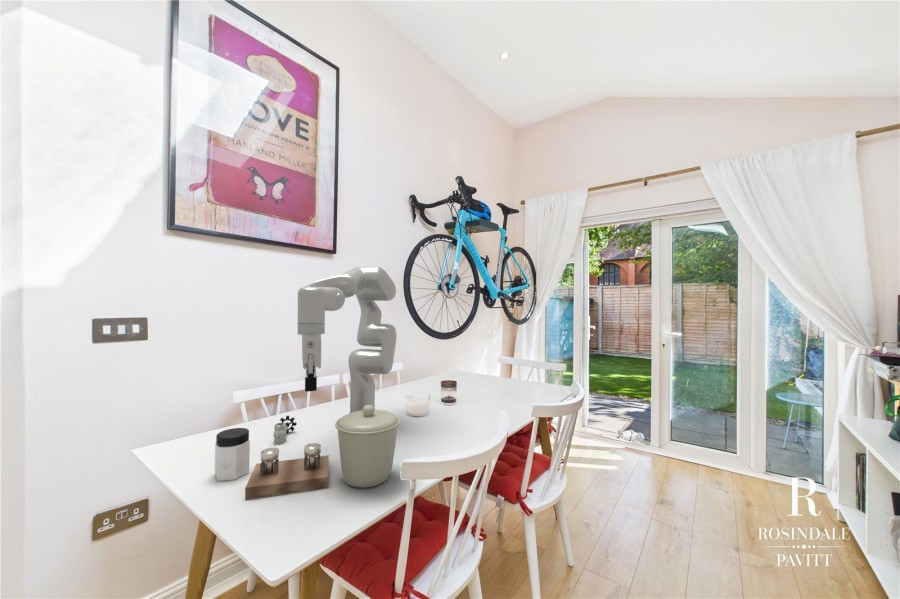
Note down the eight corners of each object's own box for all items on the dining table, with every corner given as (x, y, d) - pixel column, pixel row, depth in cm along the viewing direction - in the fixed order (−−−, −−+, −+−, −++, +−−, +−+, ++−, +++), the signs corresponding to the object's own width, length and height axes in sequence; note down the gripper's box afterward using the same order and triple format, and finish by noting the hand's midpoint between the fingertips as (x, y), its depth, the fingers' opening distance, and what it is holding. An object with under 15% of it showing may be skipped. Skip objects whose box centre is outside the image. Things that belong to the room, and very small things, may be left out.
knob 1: (279, 468, 100) (279, 446, 100) (277, 475, 96) (277, 453, 96) (262, 470, 99) (262, 448, 99) (259, 477, 95) (259, 455, 95)
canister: (346, 463, 110) (347, 395, 110) (403, 465, 110) (405, 397, 110) (323, 494, 92) (325, 414, 92) (392, 497, 92) (393, 416, 92)
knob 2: (320, 463, 104) (320, 442, 104) (320, 469, 100) (320, 448, 100) (304, 464, 102) (304, 444, 102) (303, 471, 98) (303, 450, 98)
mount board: (328, 465, 109) (329, 445, 109) (328, 487, 96) (328, 465, 96) (255, 474, 102) (256, 453, 103) (244, 499, 89) (245, 476, 89)
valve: (288, 444, 124) (296, 432, 136) (288, 425, 124) (297, 415, 136) (267, 445, 123) (278, 433, 135) (268, 426, 123) (278, 415, 135)
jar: (208, 482, 97) (209, 439, 97) (220, 468, 105) (221, 428, 105) (244, 479, 99) (245, 436, 99) (253, 466, 107) (254, 426, 107)
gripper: (325, 331, 99) (324, 396, 99) (324, 326, 113) (324, 383, 113) (295, 331, 96) (295, 398, 96) (299, 326, 110) (298, 385, 110)
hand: (310, 390), depth 105 cm, fingers closed
